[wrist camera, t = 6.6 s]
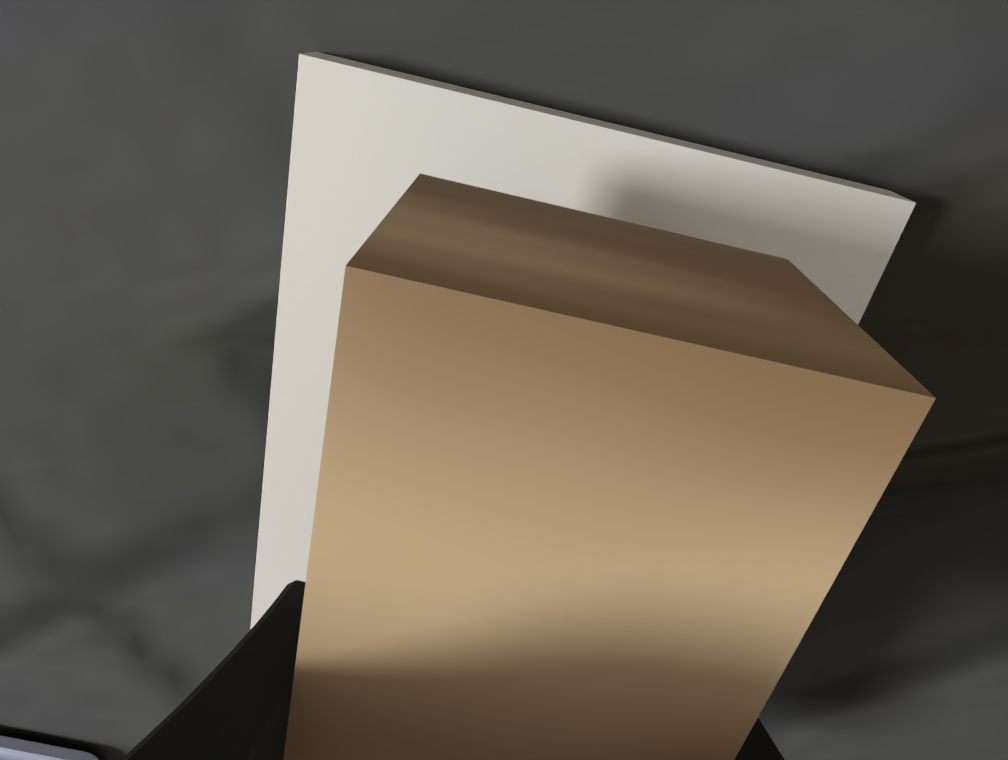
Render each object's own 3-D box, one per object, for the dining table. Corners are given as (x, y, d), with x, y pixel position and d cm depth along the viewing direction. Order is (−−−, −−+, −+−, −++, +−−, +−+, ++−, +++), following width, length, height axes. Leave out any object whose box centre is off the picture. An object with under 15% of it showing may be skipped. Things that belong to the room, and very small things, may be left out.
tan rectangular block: (562, 807, 15) (568, 1055, 11) (322, 763, 15) (252, 1004, 11) (787, 258, 10) (935, 397, 6) (419, 172, 9) (344, 265, 6)
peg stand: (645, 726, 19) (661, 844, 16) (260, 649, 18) (211, 757, 15) (889, 190, 12) (983, 235, 10) (318, 52, 12) (251, 58, 9)
